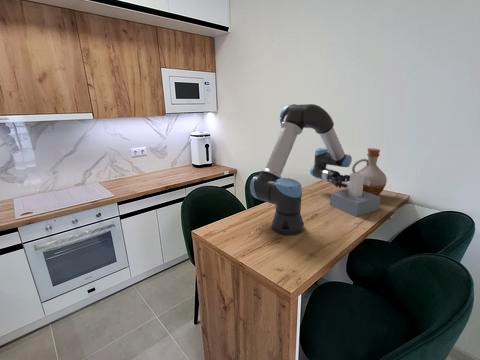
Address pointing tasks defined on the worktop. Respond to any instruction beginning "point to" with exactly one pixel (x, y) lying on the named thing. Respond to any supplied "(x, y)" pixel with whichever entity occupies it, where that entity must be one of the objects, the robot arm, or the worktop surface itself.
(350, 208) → the well block
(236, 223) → the worktop surface
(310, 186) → the worktop surface
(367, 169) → the jug
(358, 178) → the post
